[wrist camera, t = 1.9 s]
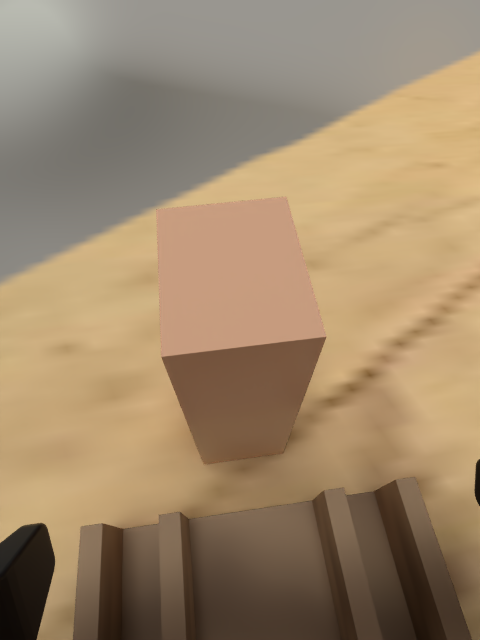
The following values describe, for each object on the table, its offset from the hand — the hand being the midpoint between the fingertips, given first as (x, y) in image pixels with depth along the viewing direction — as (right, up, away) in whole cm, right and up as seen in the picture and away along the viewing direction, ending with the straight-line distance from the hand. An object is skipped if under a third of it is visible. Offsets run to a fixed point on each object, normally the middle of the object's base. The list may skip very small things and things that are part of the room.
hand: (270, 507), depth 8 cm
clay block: (-1, -1, +13) cm, 13 cm away
